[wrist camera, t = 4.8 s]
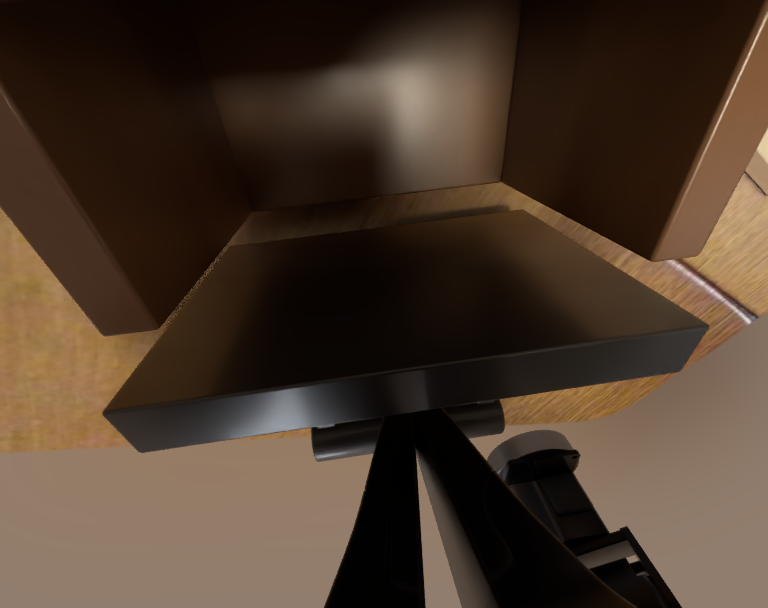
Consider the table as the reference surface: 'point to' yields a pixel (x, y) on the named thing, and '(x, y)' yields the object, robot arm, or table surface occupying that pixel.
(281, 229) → the table surface
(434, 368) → the brown drawer
